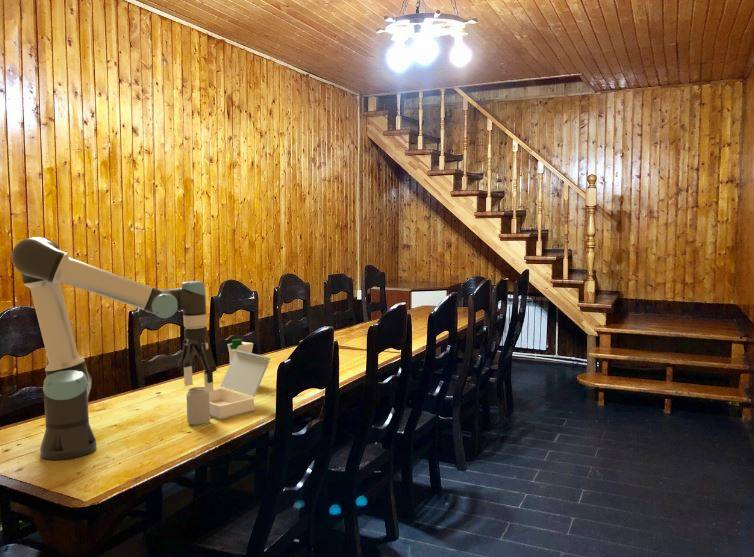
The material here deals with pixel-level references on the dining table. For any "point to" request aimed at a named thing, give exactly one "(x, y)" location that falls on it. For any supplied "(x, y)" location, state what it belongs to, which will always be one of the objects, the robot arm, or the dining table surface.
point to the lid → (245, 372)
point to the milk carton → (239, 347)
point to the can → (198, 406)
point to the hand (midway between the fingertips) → (198, 388)
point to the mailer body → (229, 404)
